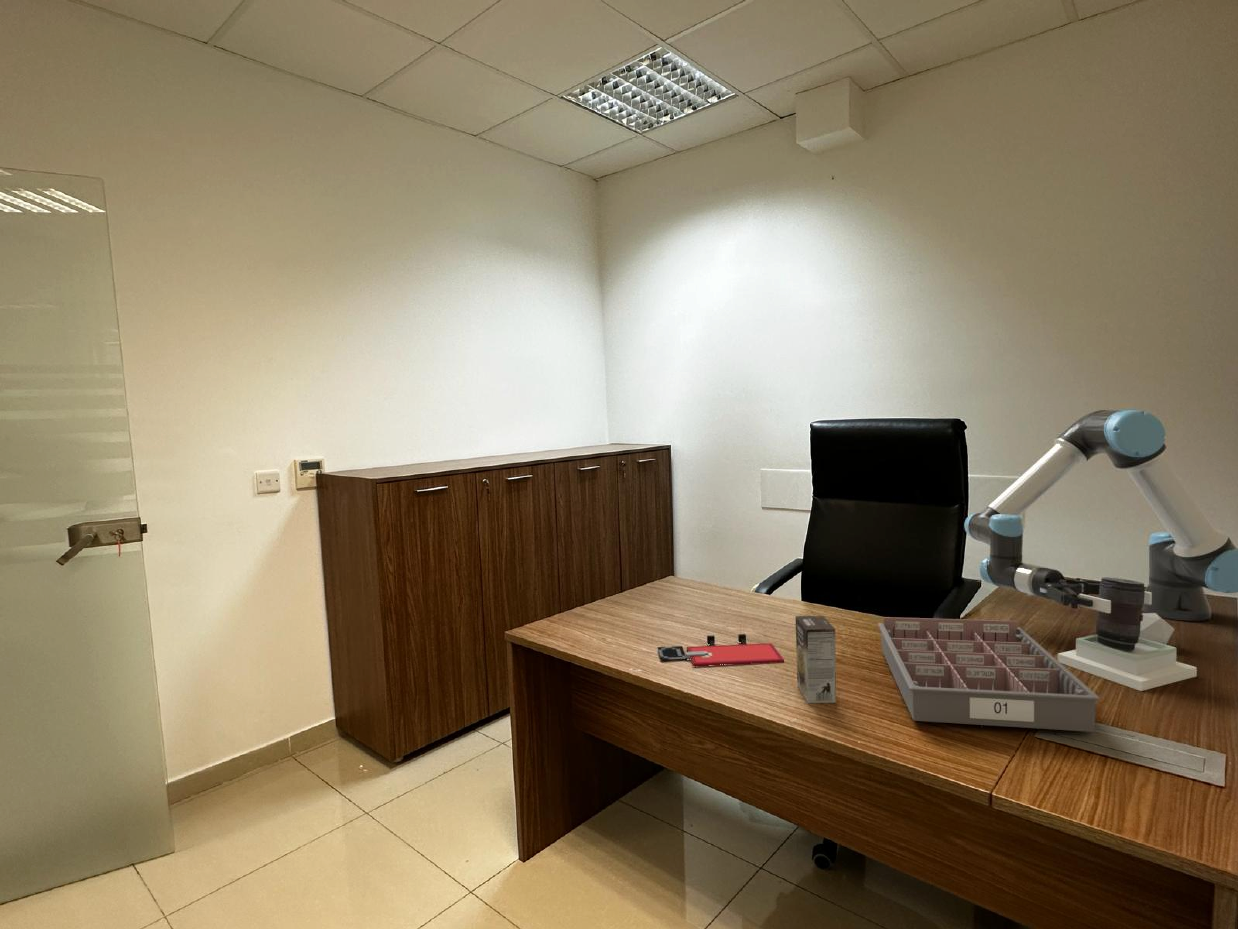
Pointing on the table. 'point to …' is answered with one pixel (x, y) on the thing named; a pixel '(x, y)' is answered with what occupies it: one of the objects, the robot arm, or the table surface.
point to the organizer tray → (983, 675)
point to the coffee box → (816, 659)
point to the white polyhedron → (1155, 628)
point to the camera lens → (1120, 613)
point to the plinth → (1128, 677)
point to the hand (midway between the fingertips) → (1130, 602)
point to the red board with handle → (724, 653)
